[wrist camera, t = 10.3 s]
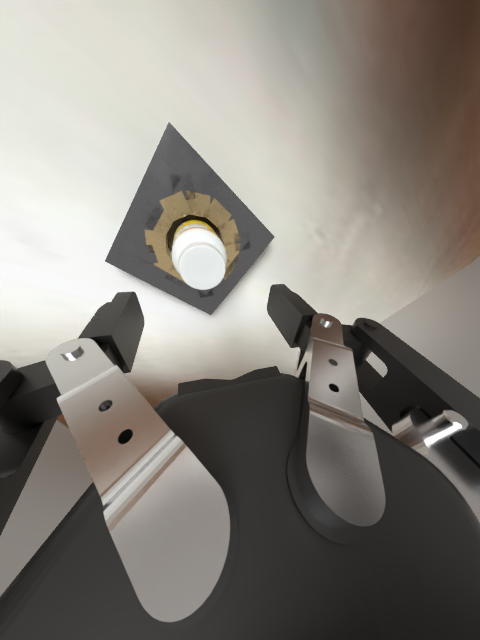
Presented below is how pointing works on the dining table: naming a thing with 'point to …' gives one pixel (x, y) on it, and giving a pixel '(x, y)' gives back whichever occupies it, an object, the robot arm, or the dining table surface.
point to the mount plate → (174, 203)
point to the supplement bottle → (198, 254)
